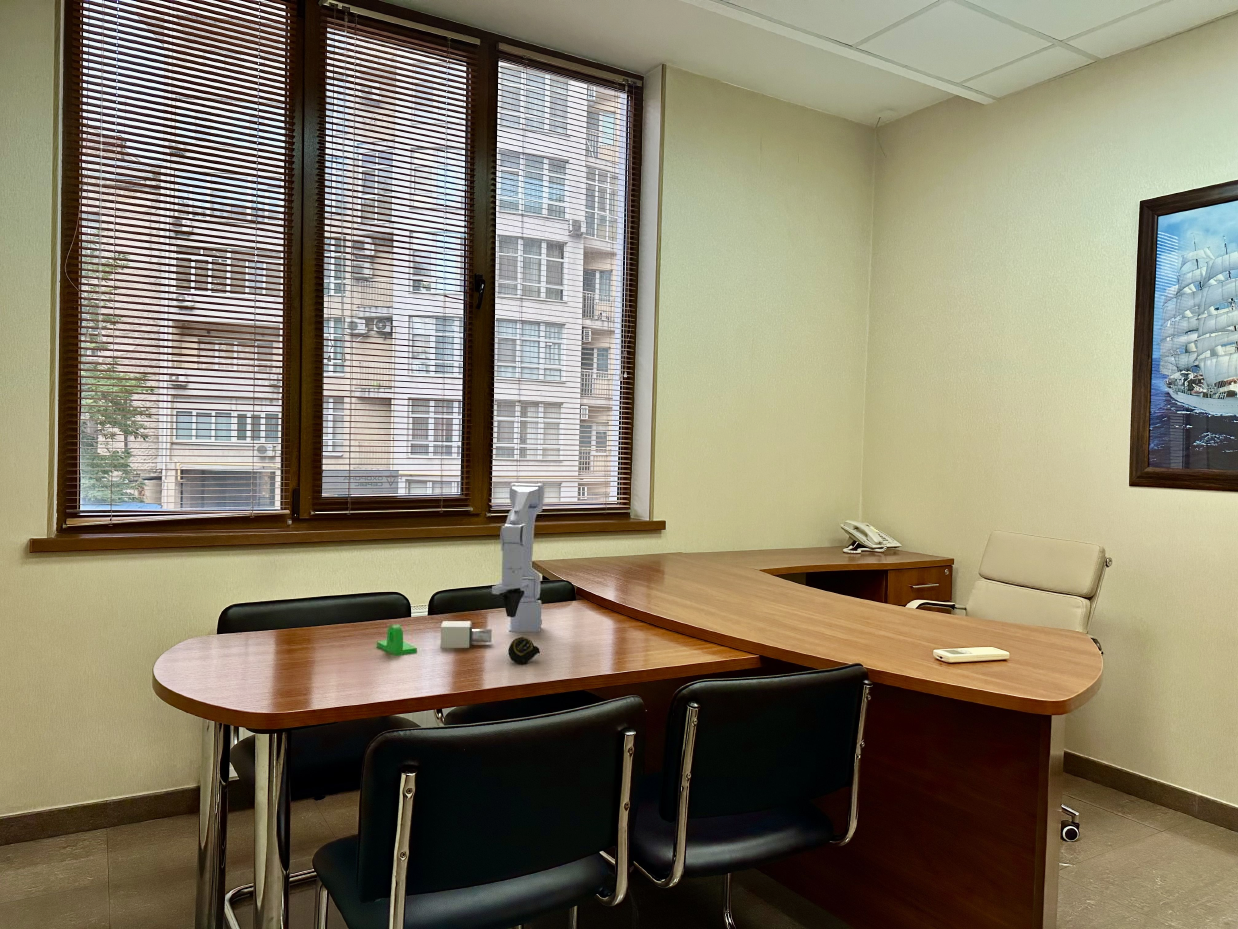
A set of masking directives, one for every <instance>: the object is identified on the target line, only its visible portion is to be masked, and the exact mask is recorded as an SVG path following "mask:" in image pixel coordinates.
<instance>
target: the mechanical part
mask: <svg viewBox="0 0 1238 929" xmlns="http://www.w3.org/2000/svg"><path fill="white" fill-rule="evenodd" d="M386 633H387V634H386V639H385V640H381V641H380V640H379V641H376V647H377V648H379V649H381V650H383V651H385V652H387V653H389V654H392V655H393V656H400V655H410V654H415V653H418V647H416V646H414V645H411V644H410V643H408V642H405V641H404V632H403V628H402V626H401V625H400V624H395V625H390V626H389V627H388V628H387V632H386Z"/></svg>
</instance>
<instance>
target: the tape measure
mask: <svg viewBox="0 0 1238 929" xmlns="http://www.w3.org/2000/svg"><path fill="white" fill-rule="evenodd" d="M507 649H508V650H507V651H508V652H507V653H508V654H507V655H508V657H509V659H510V660H511V661H512V662H513V663H515V664H517V665H519V666H525V665H527V664H528V663H529V662H530V661H531V660H532V659H534V658H535V656H537V655H538V654H539V655H540V654H541V651H540V648H539V647H538V646H537V645H535V644H534V642H533V641H532V640H531V639H529V638H527V637H523V636H521V637H516V638H514V639H513V640H512V641H511V643H510V645H509V646H508V648H507Z"/></svg>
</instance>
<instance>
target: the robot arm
mask: <svg viewBox="0 0 1238 929" xmlns="http://www.w3.org/2000/svg"><path fill="white" fill-rule="evenodd" d="M509 485H510V487H509V496H508V497H509V502H510V505H511V508H512V509H511V510H510V511H509V512H508V515H507V518H506V521H505V524H504V526H503V525H502V526H501V528H500V533H499V534H500V536H499V537H500V538H499V539H500V550H501V553H502V558H501V581H499V583H497V584H496V585H493V586H492V587H491V594H493V595H499V596H500V598H501V600H502V602H503V605H504V610H505V613H506V617H508V618H510V622H509V623H510V624H508V633H509V632H510V633H518V632H519V633H520V632H521V633H522V632H523V633H525V632H526V633H530V632H531V633H536V632H542V625H543V618H542V600H538V599H539V598H540V594H541V575H540V573H539V572H538V571H537V570H536V569H534V568H533V567H532V566H533V552H534V540H535V539H534V537H535V522H536V517H537V515H538V514H539V513H541V512H542V511H543V508H544V497H545V496H544V495H545V490H544V489H545V488H544V485H543V483H522V482H520V483H519V482H512V483H511V484H509Z"/></svg>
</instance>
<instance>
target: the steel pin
mask: <svg viewBox="0 0 1238 929" xmlns="http://www.w3.org/2000/svg"><path fill="white" fill-rule="evenodd" d="M492 632H493V631H492V629H491V628H485V629H483V628H482V629H480V628H475V629H473V628H472V629H471V644H472V643H479V644H481V643H482V644H483V643H488V644H489V643H492V636H493V635H492Z"/></svg>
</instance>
